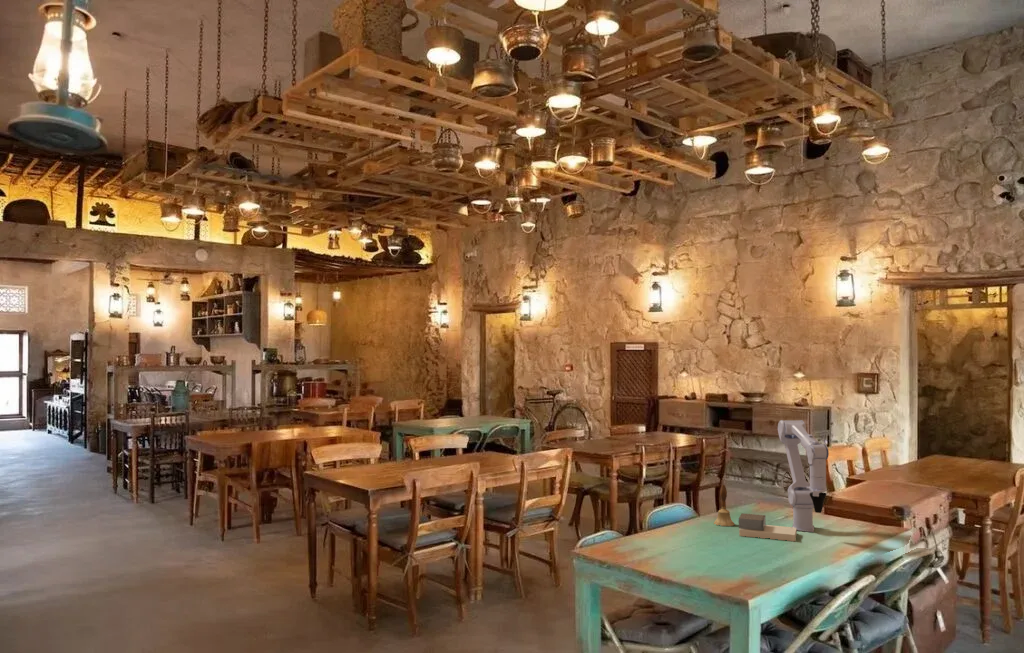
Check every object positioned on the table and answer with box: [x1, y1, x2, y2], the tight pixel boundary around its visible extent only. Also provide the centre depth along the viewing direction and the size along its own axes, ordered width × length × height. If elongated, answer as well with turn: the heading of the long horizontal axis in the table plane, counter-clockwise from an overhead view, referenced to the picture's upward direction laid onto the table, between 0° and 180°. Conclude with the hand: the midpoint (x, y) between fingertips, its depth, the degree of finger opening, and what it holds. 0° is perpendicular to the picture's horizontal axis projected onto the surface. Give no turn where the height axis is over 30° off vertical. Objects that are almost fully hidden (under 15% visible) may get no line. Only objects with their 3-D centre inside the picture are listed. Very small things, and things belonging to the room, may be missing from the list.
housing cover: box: [738, 513, 767, 531], centre depth 283 cm, size 9×9×4 cm
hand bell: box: [713, 484, 736, 527], centre depth 298 cm, size 8×8×16 cm
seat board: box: [738, 524, 798, 542], centre depth 281 cm, size 12×20×2 cm, turn 66°
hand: (818, 512), depth 275 cm, fingers closed
